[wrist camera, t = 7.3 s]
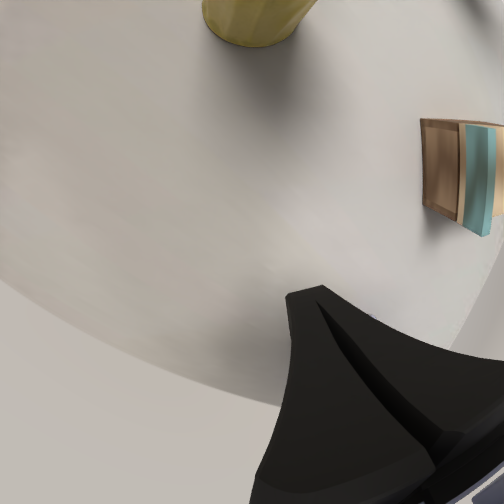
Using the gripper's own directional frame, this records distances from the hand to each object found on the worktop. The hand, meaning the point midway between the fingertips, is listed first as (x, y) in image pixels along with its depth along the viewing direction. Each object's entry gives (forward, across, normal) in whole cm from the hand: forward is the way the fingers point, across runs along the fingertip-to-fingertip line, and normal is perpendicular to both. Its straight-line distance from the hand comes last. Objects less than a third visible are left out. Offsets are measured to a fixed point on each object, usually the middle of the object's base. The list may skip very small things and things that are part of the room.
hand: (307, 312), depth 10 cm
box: (+10, -18, -2) cm, 21 cm away
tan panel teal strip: (+6, -18, -2) cm, 19 cm away
